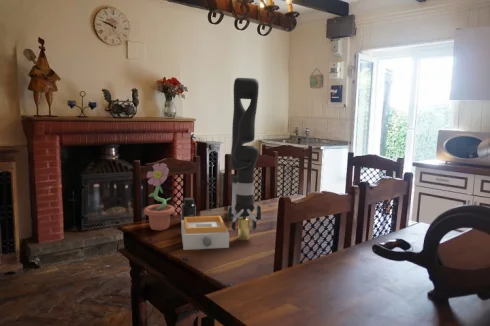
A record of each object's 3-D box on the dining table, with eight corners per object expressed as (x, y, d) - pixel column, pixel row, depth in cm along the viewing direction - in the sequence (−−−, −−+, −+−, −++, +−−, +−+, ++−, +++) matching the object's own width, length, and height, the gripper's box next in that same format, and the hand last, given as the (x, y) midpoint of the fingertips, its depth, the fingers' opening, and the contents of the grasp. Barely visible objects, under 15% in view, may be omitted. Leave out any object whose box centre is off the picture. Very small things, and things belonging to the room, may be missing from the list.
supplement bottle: (189, 226, 178) (189, 201, 177) (178, 223, 182) (178, 199, 180) (198, 222, 184) (198, 198, 182) (187, 220, 188) (187, 196, 186)
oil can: (237, 236, 165) (237, 213, 164) (247, 236, 166) (248, 213, 165) (239, 240, 161) (239, 216, 159) (249, 240, 162) (250, 216, 160)
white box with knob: (181, 233, 168) (181, 215, 166) (221, 231, 171) (222, 214, 170) (183, 252, 145) (184, 232, 144) (230, 250, 149) (230, 230, 148)
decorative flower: (135, 229, 172) (134, 163, 167) (156, 221, 184) (155, 160, 179) (161, 234, 165) (161, 166, 161) (180, 226, 177) (181, 163, 173)
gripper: (259, 190, 165) (257, 226, 168) (226, 191, 163) (226, 227, 165) (263, 194, 158) (262, 231, 160) (229, 194, 155) (228, 233, 157)
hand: (243, 229), depth 163 cm, fingers open, 8 cm apart
